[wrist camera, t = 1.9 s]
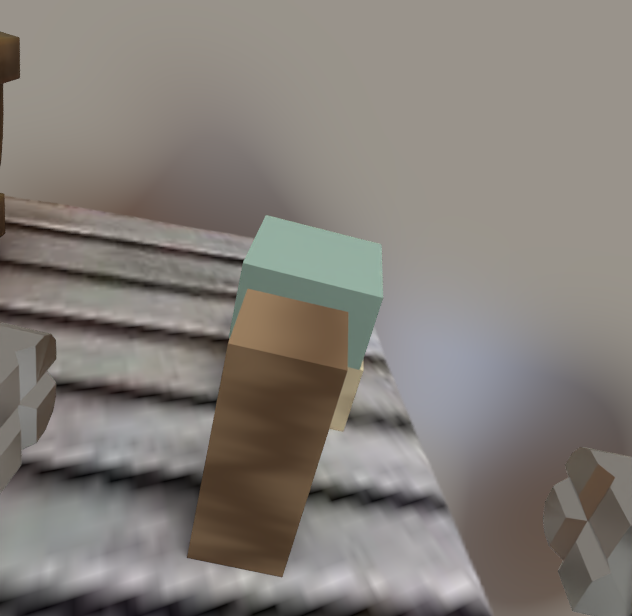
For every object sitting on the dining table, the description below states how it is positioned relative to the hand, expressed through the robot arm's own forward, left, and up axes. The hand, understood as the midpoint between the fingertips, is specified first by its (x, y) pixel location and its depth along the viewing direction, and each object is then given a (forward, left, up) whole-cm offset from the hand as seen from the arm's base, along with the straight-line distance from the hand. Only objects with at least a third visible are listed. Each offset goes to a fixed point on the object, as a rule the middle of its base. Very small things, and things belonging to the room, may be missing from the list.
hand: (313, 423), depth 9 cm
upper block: (+1, +26, -13) cm, 29 cm away
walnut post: (0, +13, -18) cm, 22 cm away
